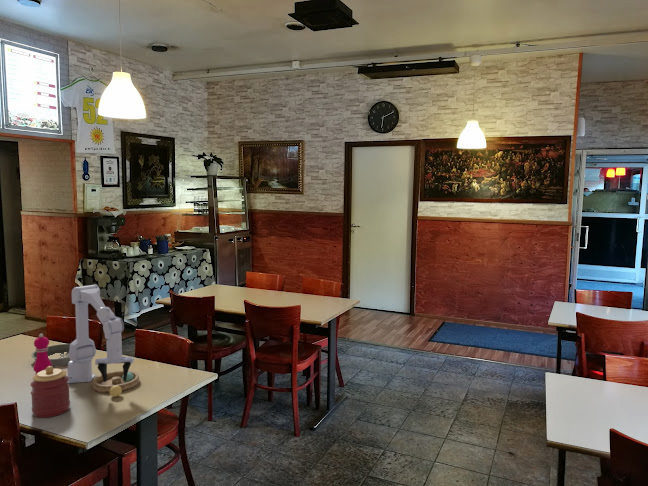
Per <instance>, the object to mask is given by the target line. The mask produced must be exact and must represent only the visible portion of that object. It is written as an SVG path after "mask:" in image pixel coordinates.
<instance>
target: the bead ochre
mask: <svg viewBox="0 0 648 486" xmlns="http://www.w3.org/2000/svg"><path fill="white" fill-rule="evenodd" d="M122 392H123V391H122V389H121V387H120V386H118V385H115V386H113V387H111V389H110V393H109V395H110V396H111V397H114V398H117V397H119V396H121V394H122Z"/></svg>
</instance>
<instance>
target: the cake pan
mask: <svg viewBox="0 0 648 486" xmlns="http://www.w3.org/2000/svg"><path fill="white" fill-rule="evenodd" d="M70 344H71V343H60V344H53V345H48V346H47V347H48V350H47V355H48V356H50V355H53V354H55V353H61V354H63V355H61V354H60V356H61V357H63V358H61V357H60V358H58V359H49V360H50V361H51V364H52V367H61V366H62V367H63V366H66V365H67V366H68V363H69V361H71V360H70V358H69V349H70ZM64 352H67V353H66V354H65V355H64ZM64 356H66V357H64ZM31 358H32V359H34V363H35V362H36V359H37V352H36V350H35V351H34V352H32V353H31Z"/></svg>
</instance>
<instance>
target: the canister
mask: <svg viewBox="0 0 648 486" xmlns="http://www.w3.org/2000/svg"><path fill="white" fill-rule="evenodd" d="M35 374H36V373H35ZM35 374H34V375H33V376H32V381H31V382H30V387H31V391H30V395H31V413H32V416H34V417H36V418H51V417H56V416H59V415H62V414H64V413H66V412H67V411H69V409H70V406H71V400H70V384H69V383H68V381H69V377H68V375H67V371H65V370H63V369H61V368H58V367H57V368H54V366H48V367H47V368H46V370H43V371H40V372H38V373H37V374H36V375H35Z"/></svg>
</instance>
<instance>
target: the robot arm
mask: <svg viewBox="0 0 648 486" xmlns="http://www.w3.org/2000/svg"><path fill="white" fill-rule="evenodd" d="M71 304H72V305H75V332H76V336H75V339H74V340H73V341H71V343H69V344H70V349H69V358H70V360H71V361H69V363H68V364H67V376H68V377H69V381H68V384H70V383H71V384H72V383H90V382H91V381H93V380H94V379H95V376H96V374H95V373H94V374H93V368H92V367H93V364H92V363H93V362H92V360H94V357H95V356H96V353H97V349H96V345H95V341H94V340H93V339H91V338H90V336H89V333H90V332H89V304H90V305H91V306H92V307H93V308H94V310H95V311H96V316H97V318H98V319H99V321H100V323H101V324H102V326H103V327H102V330H103V333H104V338H105V341H106V357H103V358H96V359H95V362H94V363H95V364H94V365H95V366H97V370H98V371H99V372H100V375H101V374H102V377H103V380H104V382H106V381H107V373H108V372H107V370H108V365H111V364H112V365H113V364H123V365H122V371H123V372H124V381H126V379H127V374H128V371H130V367H131V365H132V364H134V362H135V358H134V357H133V356H132V357H130V356H123V348H122V347H123V344H122V342H123V341H122V332H123V331H124V329H125V325H124V324H125V323H124V321H123V318H121V317H118V316H116V315H115V314H114V311H113V310H112V309H111V308H110V307H109V306H106V305H105V304H104V302H103V300H102V298H101V289H100V287H99V286H98V284H95V283H94V284H91V285H82V286H74V287H73V288H72V290H71Z"/></svg>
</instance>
